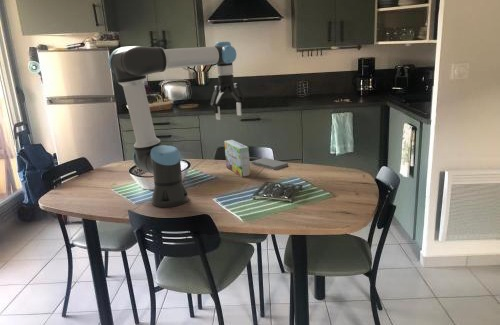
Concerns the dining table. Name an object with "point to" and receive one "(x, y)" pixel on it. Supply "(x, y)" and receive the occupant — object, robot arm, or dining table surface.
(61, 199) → the dining table surface
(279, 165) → the slate board
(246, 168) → the snack box
